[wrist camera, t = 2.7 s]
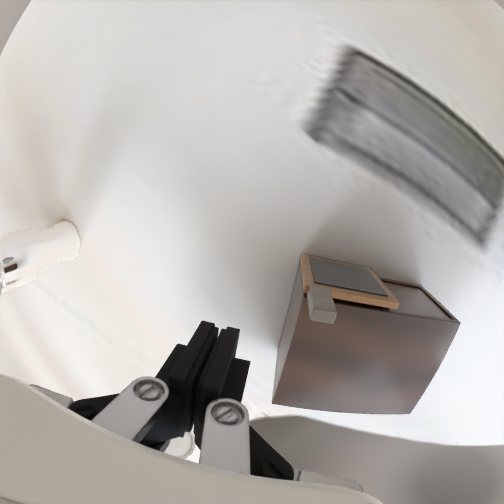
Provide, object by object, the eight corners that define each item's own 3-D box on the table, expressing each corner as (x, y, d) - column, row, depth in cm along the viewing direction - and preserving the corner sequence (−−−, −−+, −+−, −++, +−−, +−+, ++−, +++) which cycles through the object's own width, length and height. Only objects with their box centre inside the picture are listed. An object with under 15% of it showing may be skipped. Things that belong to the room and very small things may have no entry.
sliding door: (301, 252, 30) (308, 307, 16) (370, 266, 29) (419, 324, 16) (299, 260, 30) (305, 319, 17) (368, 274, 29) (414, 336, 16)
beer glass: (57, 261, 36) (-13, 294, 21) (51, 218, 34) (-24, 239, 20) (85, 263, 35) (10, 302, 20) (79, 216, 33) (-4, 238, 19)
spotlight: (204, 436, 39) (180, 469, 32) (187, 449, 44) (166, 475, 37) (167, 409, 40) (139, 438, 33) (155, 426, 45) (132, 450, 38)
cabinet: (299, 261, 30) (303, 297, 21) (421, 285, 29) (461, 322, 19) (277, 349, 34) (271, 403, 24) (389, 364, 32) (409, 414, 23)
